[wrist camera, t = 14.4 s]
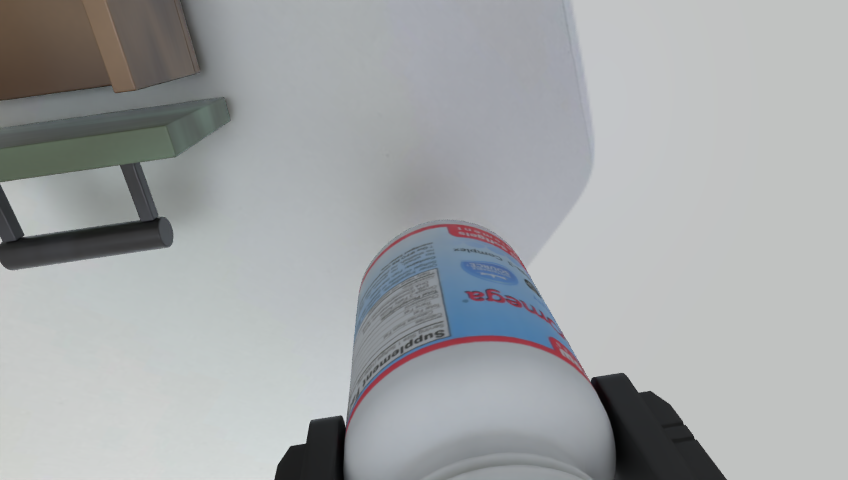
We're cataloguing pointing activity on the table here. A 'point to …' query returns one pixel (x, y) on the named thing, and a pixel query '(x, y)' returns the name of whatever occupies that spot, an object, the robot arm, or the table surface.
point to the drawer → (98, 134)
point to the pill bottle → (466, 369)
